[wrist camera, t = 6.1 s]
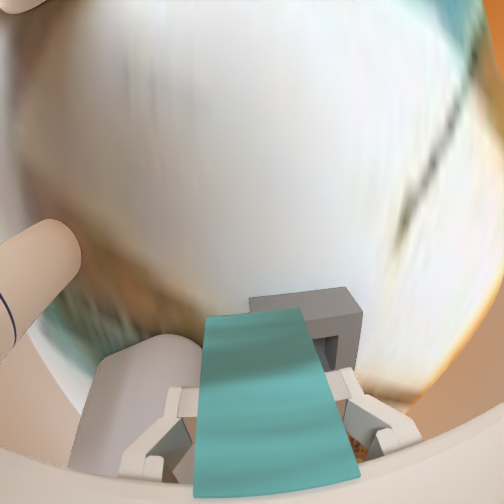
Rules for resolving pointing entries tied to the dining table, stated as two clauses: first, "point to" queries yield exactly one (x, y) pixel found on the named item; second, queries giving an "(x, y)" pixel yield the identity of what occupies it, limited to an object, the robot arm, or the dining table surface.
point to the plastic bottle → (133, 402)
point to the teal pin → (266, 410)
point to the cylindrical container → (33, 276)
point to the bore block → (323, 322)
